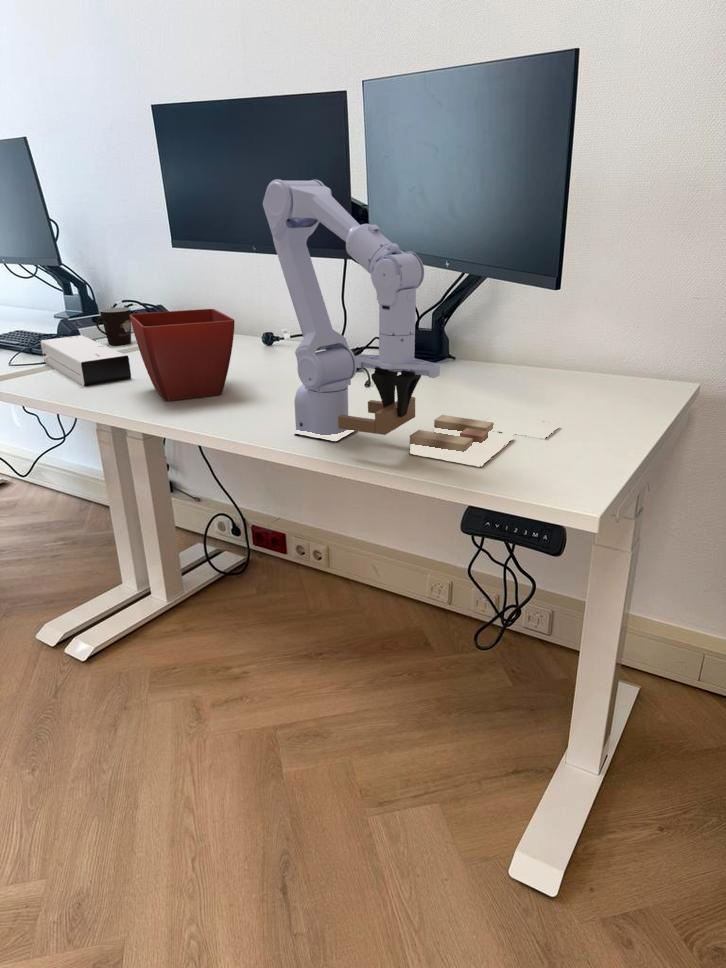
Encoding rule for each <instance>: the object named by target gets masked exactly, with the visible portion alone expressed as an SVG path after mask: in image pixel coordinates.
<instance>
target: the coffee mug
mask: <svg viewBox="0 0 726 968" xmlns="http://www.w3.org/2000/svg"><path fill="white" fill-rule="evenodd" d="M99 314H100V317H98V318H97V319H96V321H95V323H96V329H98V331H99V332H100V333H102V334H103V335H105V336H106V339H107V343H108V346H110V345H111V346H110V347H122V346H121V345H124V346H128V344H129V345H131V344H132V323H131V319H130V314H132V312H131V308H129V307H108V308H103V309H102V308H101V309H100V310H99ZM100 321H102V323H103V324H102V325H103V328H104V330H102V329H101V327H100V326H99V322H100Z"/></svg>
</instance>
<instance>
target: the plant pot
mask: <svg viewBox="0 0 726 968" xmlns="http://www.w3.org/2000/svg"><path fill="white" fill-rule="evenodd" d="M130 319H131V328H132V330H133V334H134V337H135V340H136V344H137V347H138V349H139V350H138V351H139V352H140V356H141V359H142V361H143V364H144V366H145V369H146V371H147V374H148V376H149V378H150V381H151V383H152V386H153V387H154V389H155V390H156V392H157V393H158V394H159V396H160V397H161V398H162V400H164V401H168V402H169V401H176V400H185V399H194V398H205V397H213V396H214V395H215V396H219V395H222V394H223V392H224V391H223V390H224V387H225V384H226V380H227V377H228V372H229V367H230V362H231V358H232V357H231V356H232V350H233V346H234V345H233V344H234V337H235V319H233V317H230V316H228V315H227V314H225V313H222V312H221V311H218V310H217V309H214V308H203V309H189V310H188V309H186V310H184V309H183V310H173V311H171V310H170V311H158V312H157V311H156V312H155V311H154V312H153V311H152V312H143V313H131V314H130Z"/></svg>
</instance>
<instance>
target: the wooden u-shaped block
mask: <svg viewBox="0 0 726 968" xmlns="http://www.w3.org/2000/svg"><path fill="white" fill-rule="evenodd" d="M493 425H494V423H493V422H487V421H486V420H479V419H471V418H466V417H461V416H460V417H458V416H455V415H454V416H452V415H446V414H441V415H440V416H438V417H436V418H435V419H434V421H433V428H434V427H435V428H441V429H448V430H457V431H462V432H461V433H460V436H454V435H448V434H442V433H436V432H434V431H428V430H424V429H423V430H422V429H418V430H416V431H415V432H413V433H412V434H410V435H409V445H410V444H415V445H422V446H429V447H435V448H441V449H448V450H456V451H462V452H464V451H466V450H467V449H468V448H469V447H470V446H472V443H473V442H479V443H482V442H483V441H485V440H486V439H487V438H488V432H489V431H491V430H492V429H493Z"/></svg>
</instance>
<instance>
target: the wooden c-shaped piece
mask: <svg viewBox="0 0 726 968" xmlns="http://www.w3.org/2000/svg"><path fill="white" fill-rule="evenodd" d="M367 413H369V414H374V418H367V417H362V416H361V417H360V416H353V415H348V416H347V415H340V416H338V428H340V429H347V430H354V431H356V432H361V433H367V434H375V435H376V434H377V435H383V436H386V435H387V434H389V433H391V432H392V431H394V430H396V429H398V428H399V427H401V426H403V425H404V424H406V423H407V422H409V421H411V420H412V419H414V418H416V397H415V396H411V399H410V402H409V406H408V410H407V414H406V415H405V416H403V417H398V415H397V400H396V401H395V402H394V403H392V404H390V405H389V406H387V407H385V408H383V404H382V400H373V399H371V400H368V401H367Z"/></svg>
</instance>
